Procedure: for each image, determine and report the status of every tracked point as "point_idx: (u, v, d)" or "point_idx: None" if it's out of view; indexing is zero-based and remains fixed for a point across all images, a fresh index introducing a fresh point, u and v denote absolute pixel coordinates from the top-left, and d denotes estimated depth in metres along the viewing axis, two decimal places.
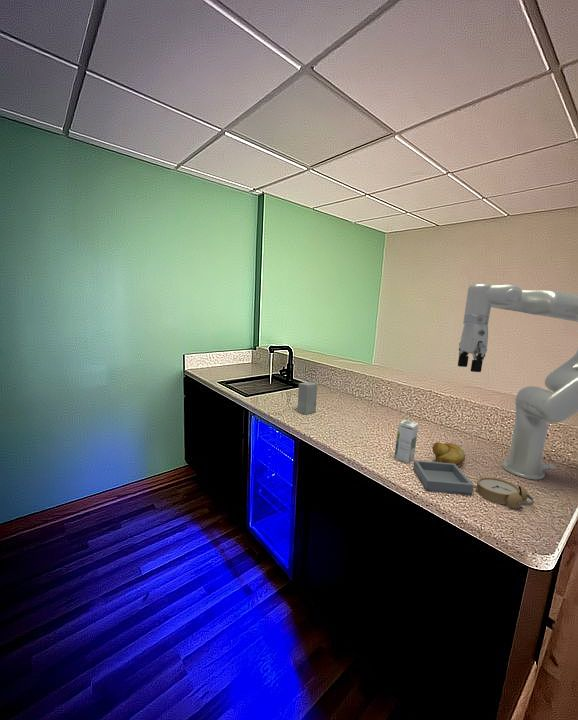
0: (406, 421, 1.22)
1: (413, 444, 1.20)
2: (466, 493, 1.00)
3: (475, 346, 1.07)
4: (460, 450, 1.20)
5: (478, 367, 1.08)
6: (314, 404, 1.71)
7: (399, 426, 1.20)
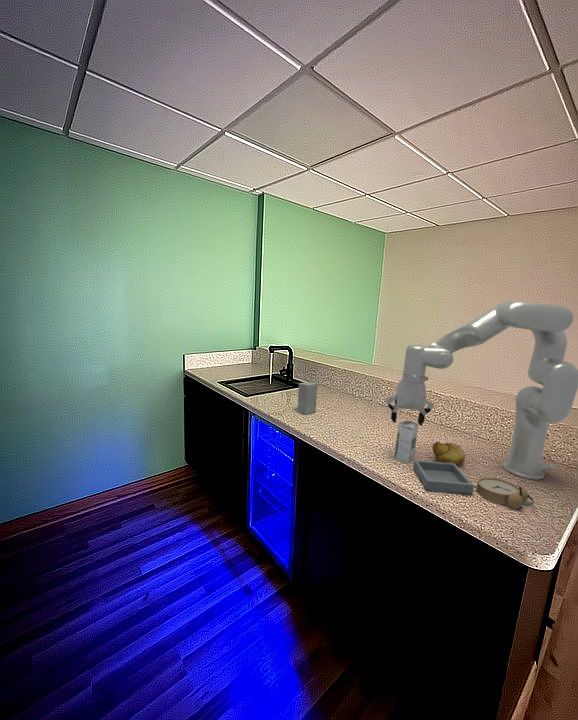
0: (406, 421, 1.22)
1: (413, 444, 1.20)
2: (466, 493, 1.00)
3: None
4: (460, 450, 1.20)
5: None
6: (314, 404, 1.71)
7: (399, 426, 1.20)
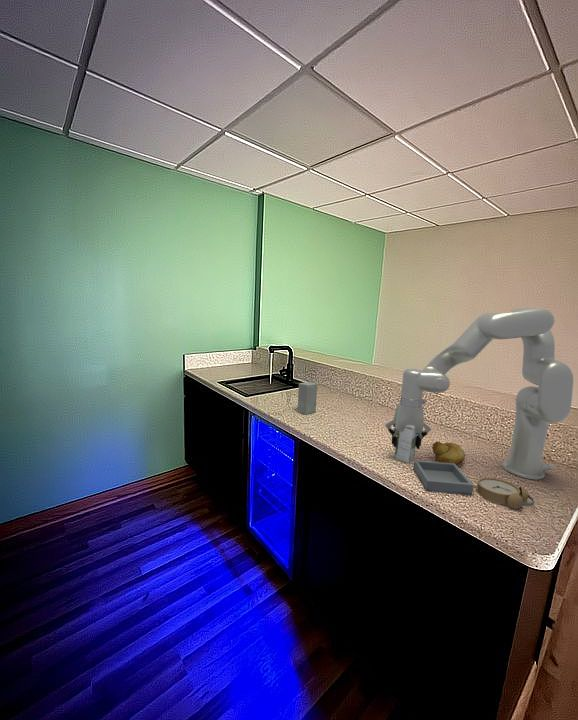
0: None
1: (413, 444, 1.20)
2: (466, 493, 1.00)
3: None
4: (460, 450, 1.20)
5: None
6: (314, 404, 1.71)
7: None
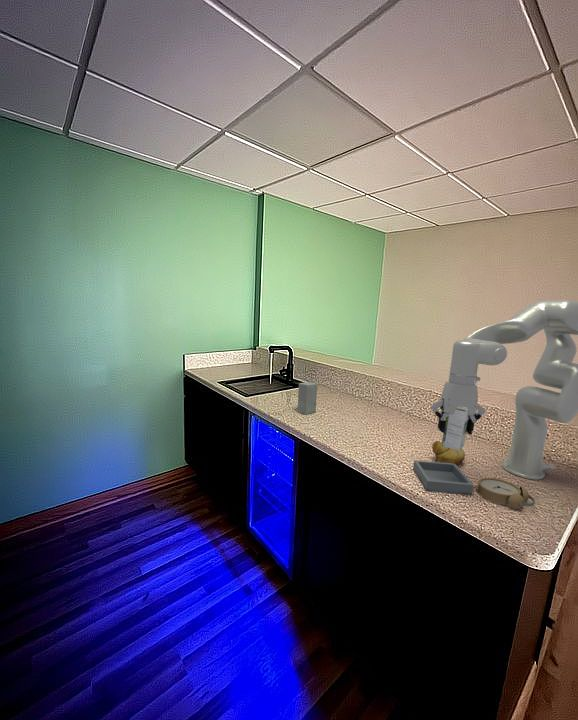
0: None
1: (465, 429, 1.03)
2: (466, 493, 1.00)
3: None
4: None
5: None
6: (314, 404, 1.71)
7: None
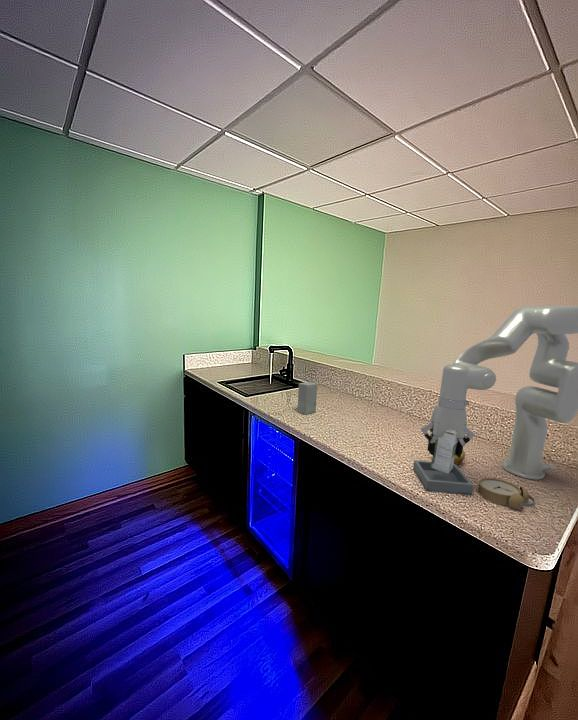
0: None
1: (454, 452, 1.04)
2: (466, 493, 1.00)
3: None
4: None
5: None
6: (314, 404, 1.71)
7: None
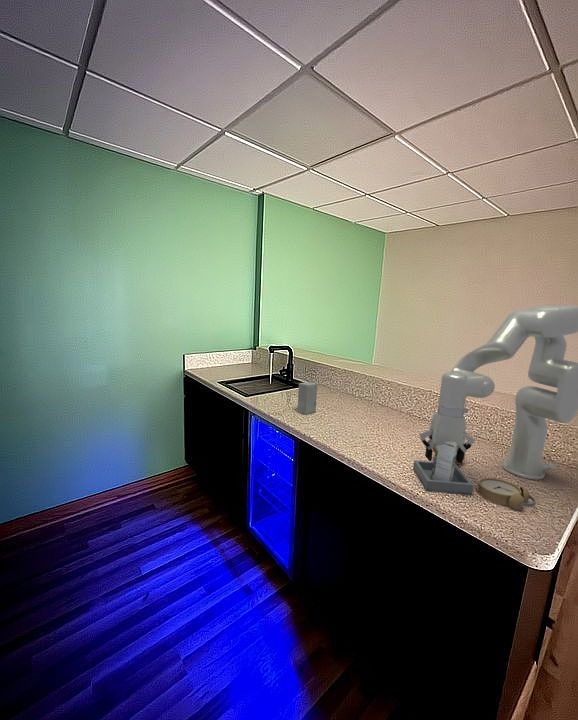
0: None
1: (454, 463, 1.05)
2: (466, 493, 1.00)
3: None
4: None
5: None
6: (314, 404, 1.71)
7: None
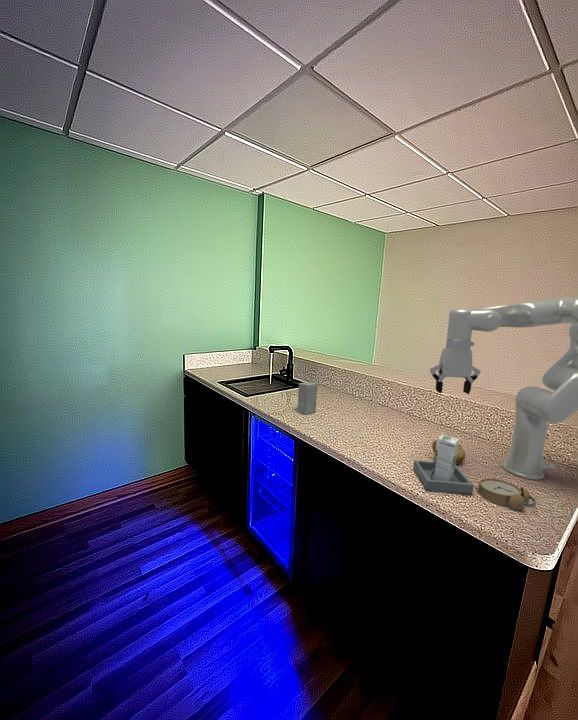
0: (445, 436, 1.07)
1: (454, 463, 1.05)
2: (466, 493, 1.00)
3: None
4: (460, 448, 1.21)
5: None
6: (314, 404, 1.71)
7: (437, 442, 1.05)
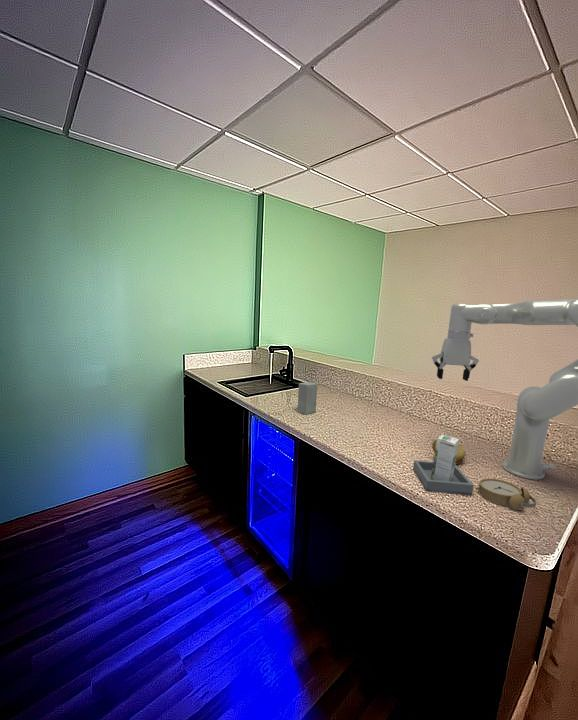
0: (445, 436, 1.07)
1: (454, 463, 1.05)
2: (466, 493, 1.00)
3: None
4: (460, 448, 1.21)
5: None
6: (314, 404, 1.71)
7: (437, 442, 1.05)
